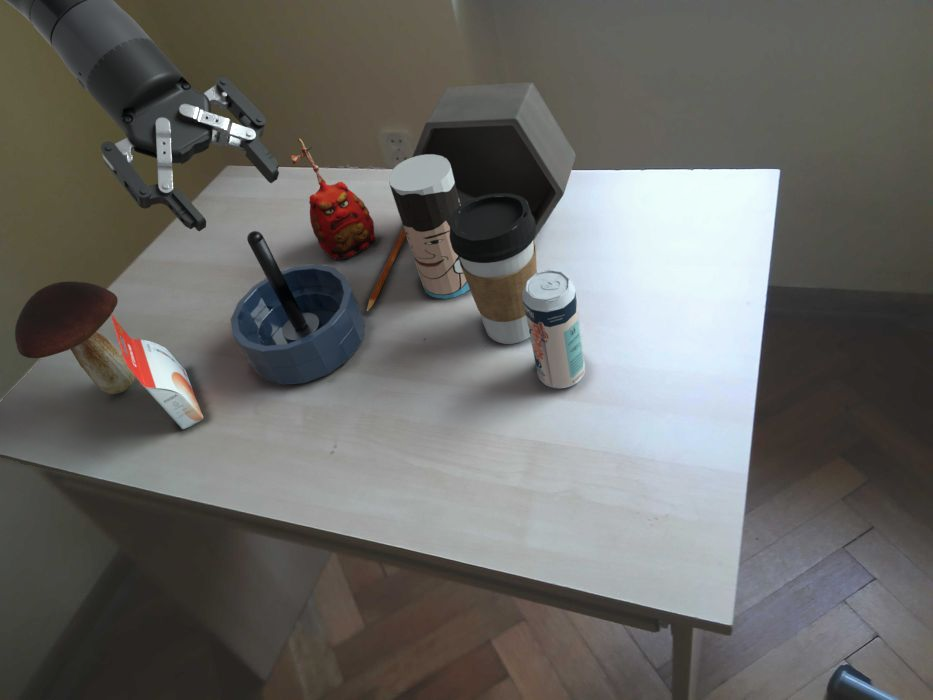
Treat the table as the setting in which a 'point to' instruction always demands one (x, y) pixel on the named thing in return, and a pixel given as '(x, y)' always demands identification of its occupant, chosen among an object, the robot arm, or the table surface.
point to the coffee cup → (497, 260)
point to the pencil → (386, 269)
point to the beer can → (554, 328)
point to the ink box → (161, 377)
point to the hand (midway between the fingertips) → (240, 201)
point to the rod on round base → (283, 292)
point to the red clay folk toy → (338, 216)
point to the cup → (429, 221)
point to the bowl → (309, 356)
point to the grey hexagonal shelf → (500, 144)
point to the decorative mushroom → (74, 331)
